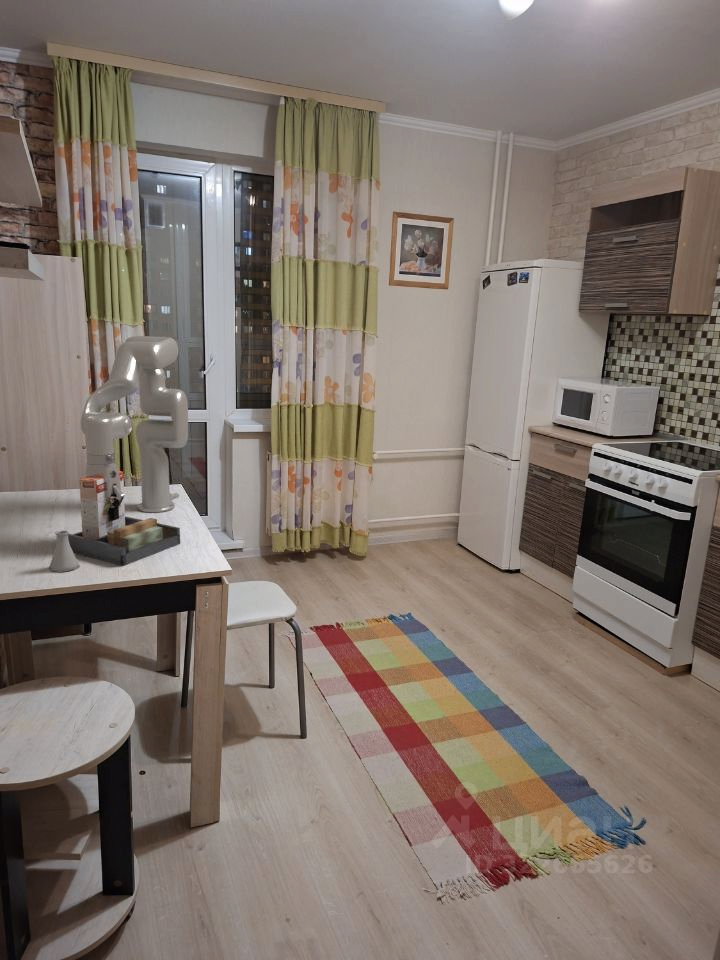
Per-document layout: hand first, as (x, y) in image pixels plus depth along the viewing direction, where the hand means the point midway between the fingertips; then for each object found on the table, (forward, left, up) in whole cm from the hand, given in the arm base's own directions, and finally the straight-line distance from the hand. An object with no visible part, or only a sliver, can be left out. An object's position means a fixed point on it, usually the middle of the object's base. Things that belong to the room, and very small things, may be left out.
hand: (104, 517), depth 193 cm
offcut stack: (0, +13, -8) cm, 15 cm away
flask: (+20, +7, -8) cm, 23 cm away
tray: (0, +6, -8) cm, 10 cm away
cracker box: (0, 0, -8) cm, 8 cm away
